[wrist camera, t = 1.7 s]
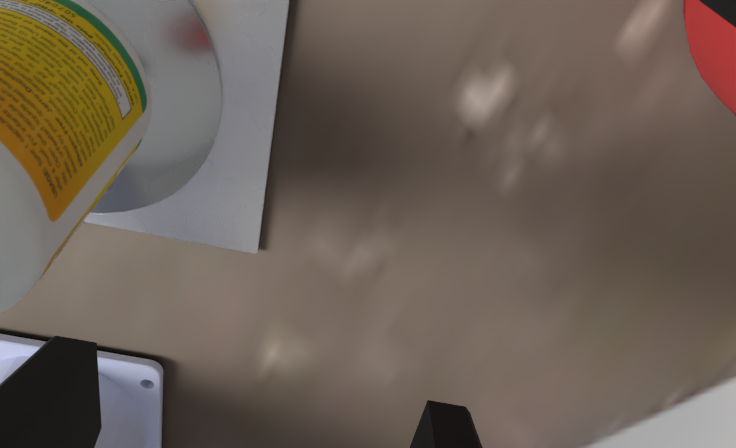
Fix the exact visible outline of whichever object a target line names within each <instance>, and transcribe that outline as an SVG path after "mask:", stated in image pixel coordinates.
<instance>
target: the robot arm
mask: <svg viewBox="0 0 736 448" xmlns="http://www.w3.org/2000/svg"><path fill="white" fill-rule="evenodd" d="M149 380H150V381H149ZM162 404H163V368H162V366H161V365H160V364H159V363H158V362H156V361H153V360H150V359H144V358H138V357H132V356H127V355H121V354H115V353H109V352H103V351H98V350H97V344H96V343H94V342H89V341H83V340H77V339H71V338H65V337H60V336H55V337H53V338H51V339H50V340H48V341H47V342H45V341H40V340H34V339H28V338H22V337H16V336H11V335H5V334H0V448H162ZM410 448H482V445H481V443H480V440H479V437H478V434H477V432H476V429H475V426H474V423H473V420H472V417H471V414H470V412H469V411H468V410H467V408H466V407H464V406H458V405H452V404H446V403H441V402H435V401H429V400H428V401H427V404H426V406H425V409H424V412H423V414H422V417H421V419H420V422H419V425H418V427H417V430H416V432H415V435H414V438H413V440H412V443H411V446H410Z"/></svg>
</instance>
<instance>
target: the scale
mask: <svg viewBox="0 0 736 448" xmlns="http://www.w3.org/2000/svg"><path fill="white" fill-rule="evenodd" d="M84 1H85V2H87V3H89V4H91V5H92V6H93V7H95V8H96V9H98V10H99V11H100V12H102V13H103V14H105V15H106V16H107V17H108V18H109V19H110V20H111V21H112V22H113V23H114V24H115V25H116V26H117V27H118V28H119V30H120V31H121V32H122V33H123V34H124V36H125V37H126V38H127V40H128V41H129V43H130V44H131V46H132V47H133V49H134V50H135V52H136V54H137V56H138V58H139V59H140V61H141V64H142V66H143V68H144V70H145V73H146V75H147V78H148V80H149V83H150V90H151V103H152V109H151V118H150V122H149V126H148V129H147V132H146V135H145V137H144V138H143V140H142V142H141V144H140V145H139V147H138V148H137V150H136V151H135V153H134V154H133V155H132V157H131V158H130V160H129V161H128V162H127V164H126V165H125V166H124V168H123V169H122V170H121V172H120V173H119V174H118V176H117V177H116V178H115V180H114V181H113V182H112V184H111V185H110V186H109V187H108V189H107V190H106V191H105V193H104V194H103V196H102V197H101V198H100V200H99V201H98V202H97V204H96V205H95V206H94V207H93V209H92V210H91V211H90V213H89V214H88V215H87V217H86V218H85V220H84V221H83V222H88V223H93V224H99V225H104V226H109V227H115V228H120V229H126V230H131V231H136V232H142V233H147V234H152V235H158V236H163V237H169V238H174V239H179V240H185V241H190V242H195V243H201V244H206V245H211V246H217V247H222V248H228V249H233V250H238V251H244V252H249V253H254V254H257V253H258V249H259V241H260V233H261V225H262V218H263V210H264V202H265V194H266V186H267V178H268V170H269V162H270V154H271V146H272V139H273V131H274V123H275V115H276V107H277V99H278V91H279V83H280V75H281V67H282V60H283V52H284V44H285V36H286V28H287V20H288V12H289V4H290V0H84Z"/></svg>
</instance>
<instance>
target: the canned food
mask: <svg viewBox="0 0 736 448" xmlns="http://www.w3.org/2000/svg"><path fill="white" fill-rule="evenodd" d="M683 12H684V19H685V26H686V31H687V37H688V42H689V48H690V53H691V55H692V57H693V60H694V62H695V64H696V66H697V69H698V71H699V73H700V75H701V77H702V78H703V80H704V81H705V82H706V84H707V85H708V86H709V87H710V89H711V90H712V91H713V92H714V94H715V95H716V96H717V97H718V98H719V99H720V100H721V101H722V102H723V104H724V105H725V106H726V107H727V108H728V109H729V110H730V111H731V112H732V113H733V114H734V115H735V116H736V0H684V9H683Z"/></svg>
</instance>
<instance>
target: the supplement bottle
mask: <svg viewBox="0 0 736 448" xmlns="http://www.w3.org/2000/svg"><path fill="white" fill-rule="evenodd" d="M151 109H152V103H151V90H150V83H149V80H148V78H147V75H146V73H145V70H144V68H143V66H142V64H141V61H140V59H139V58H138V56H137V54H136V52H135V50H134V49H133V47H132V46H131V44H130V43H129V41H128V40H127V38H126V37H125V36H124V34H123V33H122V32H121V31H120V30H119V28H118V27H117V26H116V25H115V24H114V23H113V22H112V21H111V20H110V19H109V18H108V17H107V16H106V15H105V14H103V13H102V12H100V11H99V10H98V9H96V8H95V7H93V6H92V5H91V4H89V3H87V2H85V1H84V0H0V313H2V312H4V311H6V310H7V309H9V308H11V307H12V306H13V305H15V304H16V303H18V302H19V301H20V300H21V299H22V298H24V297H25V296H26V295H27V294H28V293H29V292H30V290H31V289H32V288H33V287H34V286H35V285H36V283H37V282H38V281H39V280H40V278H41V277H42V276H43V275H44V274H45V272H46V271H47V270H48V268H49V267H50V266H51V264H52V263H53V262H54V260H55V259H56V258H57V256H58V255H59V253H60V252H61V251H62V249H63V248H64V247H65V245H66V244H67V242H68V241H69V240H70V238H71V237H72V236H73V234H74V233H75V232H76V230H77V229H78V228H79V226H80V225H81V224H82V222H83V221H84V220H85V218H86V217H87V215H88V214H89V213H90V211H91V210H92V209H93V207H94V206H95V205H96V204H97V202H98V201H99V200H100V198H101V197H102V196H103V194H104V193H105V191H106V190H107V189H108V187H109V186H110V185H111V184H112V182H113V181H114V180H115V178H116V177H117V176H118V174H119V173H120V172H121V170H122V169H123V168H124V166H125V165H126V164H127V162H128V161H129V160H130V158H131V157H132V155H133V154H134V153H135V151H136V150H137V148H138V147H139V145H140V144H141V142H142V140H143V138H144V137H145V135H146V132H147V129H148V126H149V122H150V118H151Z"/></svg>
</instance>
